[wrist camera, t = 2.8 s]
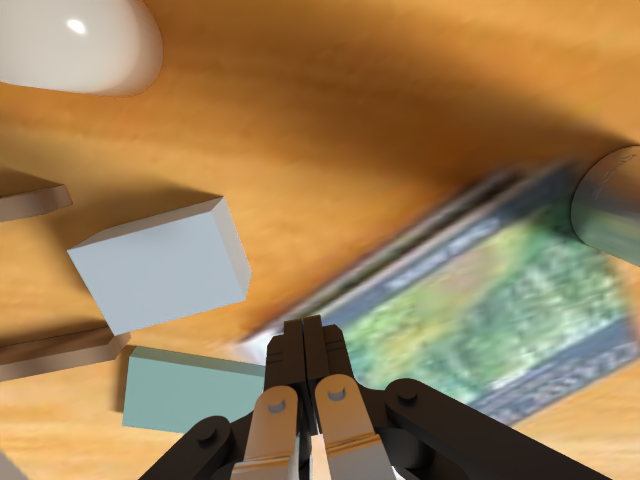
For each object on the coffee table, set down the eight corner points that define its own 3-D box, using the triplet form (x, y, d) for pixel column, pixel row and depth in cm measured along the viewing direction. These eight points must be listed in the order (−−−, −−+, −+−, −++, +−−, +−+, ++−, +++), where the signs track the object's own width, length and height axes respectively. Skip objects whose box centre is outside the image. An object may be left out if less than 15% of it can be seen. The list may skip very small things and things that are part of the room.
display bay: (64, 184, 26) (36, 192, 23) (131, 337, 30) (114, 359, 28) (-115, 218, 25) (-166, 230, 22) (-19, 366, 30) (-51, 391, 27)
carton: (224, 195, 27) (210, 211, 22) (252, 271, 29) (245, 300, 25) (105, 228, 27) (66, 250, 22) (142, 301, 30) (114, 335, 25)
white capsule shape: (181, 29, 23) (117, -25, 14) (135, 118, 24) (53, 117, 16) (79, -47, 21) (-63, -159, 13) (36, 55, 23) (-115, 16, 14)
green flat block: (267, 362, 33) (265, 377, 31) (251, 424, 35) (249, 441, 34) (139, 342, 31) (129, 356, 29) (131, 408, 34) (122, 425, 32)
